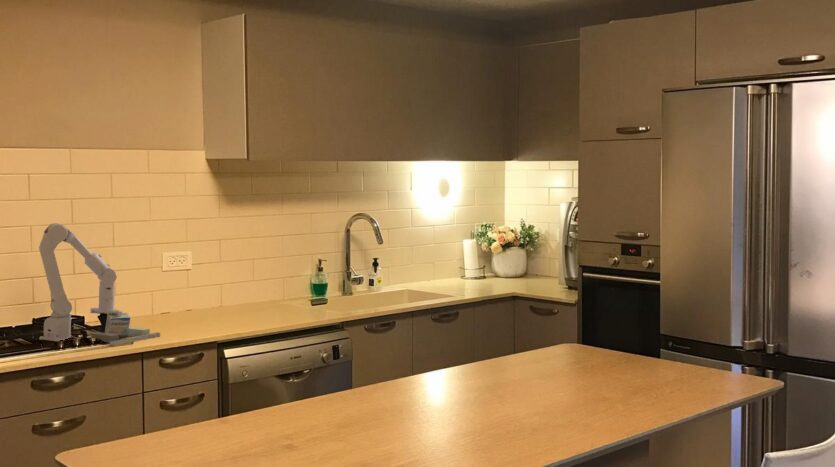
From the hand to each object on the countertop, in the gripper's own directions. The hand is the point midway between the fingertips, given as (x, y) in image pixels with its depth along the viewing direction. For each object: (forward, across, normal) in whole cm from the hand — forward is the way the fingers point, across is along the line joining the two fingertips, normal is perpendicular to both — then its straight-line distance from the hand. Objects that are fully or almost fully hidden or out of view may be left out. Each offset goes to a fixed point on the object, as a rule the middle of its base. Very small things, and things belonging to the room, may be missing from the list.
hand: (105, 333), depth 358 cm
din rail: (+1, -15, 0) cm, 15 cm away
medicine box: (+1, -4, -2) cm, 4 cm away
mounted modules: (+1, -8, 0) cm, 8 cm away
